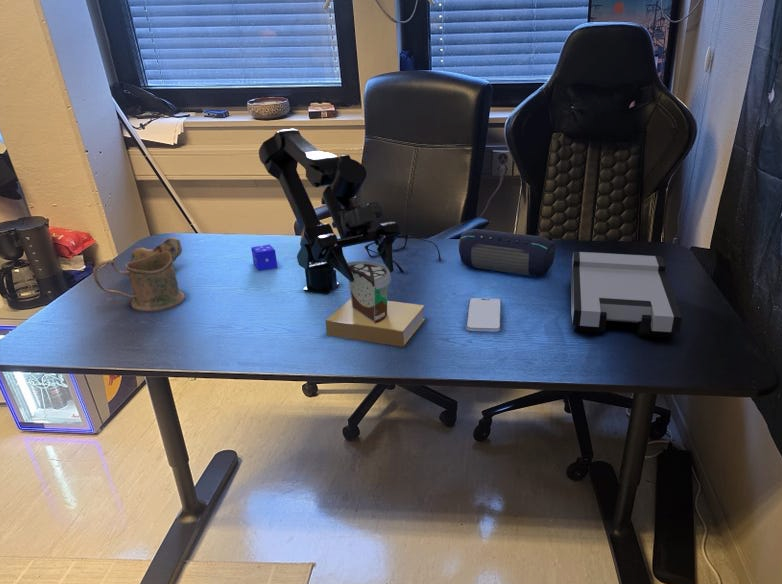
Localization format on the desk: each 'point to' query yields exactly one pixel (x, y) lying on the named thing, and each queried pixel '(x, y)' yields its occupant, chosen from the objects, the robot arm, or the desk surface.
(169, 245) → the lion figurine
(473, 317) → the smartphone
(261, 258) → the die
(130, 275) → the mug
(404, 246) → the eyeglasses
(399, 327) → the book
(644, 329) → the game console
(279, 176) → the robot arm
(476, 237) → the portable speaker
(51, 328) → the desk surface
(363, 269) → the food container
